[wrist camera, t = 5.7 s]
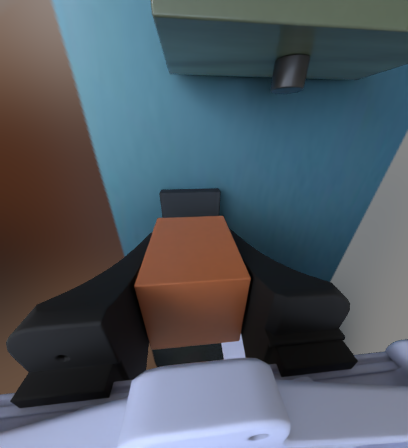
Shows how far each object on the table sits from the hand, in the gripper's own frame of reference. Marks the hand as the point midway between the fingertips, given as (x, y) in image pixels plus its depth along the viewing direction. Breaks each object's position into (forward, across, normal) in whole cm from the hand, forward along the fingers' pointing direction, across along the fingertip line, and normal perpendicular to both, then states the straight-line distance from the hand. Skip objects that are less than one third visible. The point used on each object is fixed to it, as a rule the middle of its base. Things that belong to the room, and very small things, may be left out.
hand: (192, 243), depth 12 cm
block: (0, 0, 0) cm, 0 cm away
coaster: (+5, 0, 0) cm, 5 cm away
